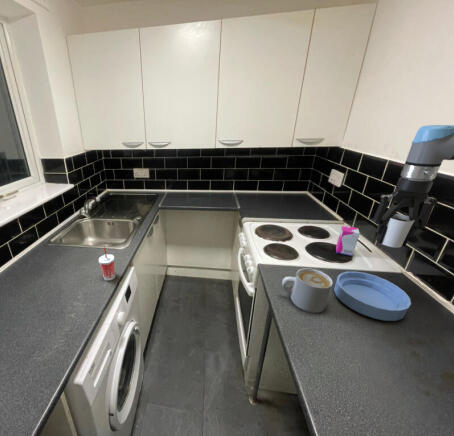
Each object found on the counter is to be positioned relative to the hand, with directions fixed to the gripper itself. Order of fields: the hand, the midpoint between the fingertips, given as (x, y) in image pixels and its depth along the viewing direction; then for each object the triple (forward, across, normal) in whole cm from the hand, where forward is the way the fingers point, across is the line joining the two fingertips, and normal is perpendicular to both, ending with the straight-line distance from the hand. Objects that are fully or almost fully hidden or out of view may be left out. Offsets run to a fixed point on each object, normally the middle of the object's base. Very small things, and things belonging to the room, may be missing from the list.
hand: (390, 242), depth 81 cm
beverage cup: (+14, -98, -32) cm, 104 cm away
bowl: (+15, -8, -15) cm, 23 cm away
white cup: (0, 0, 0) cm, 0 cm away
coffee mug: (+15, -28, -22) cm, 38 cm away
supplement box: (+15, -6, +17) cm, 23 cm away
